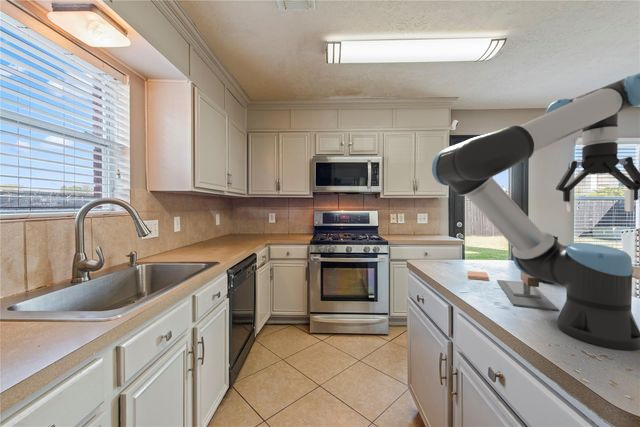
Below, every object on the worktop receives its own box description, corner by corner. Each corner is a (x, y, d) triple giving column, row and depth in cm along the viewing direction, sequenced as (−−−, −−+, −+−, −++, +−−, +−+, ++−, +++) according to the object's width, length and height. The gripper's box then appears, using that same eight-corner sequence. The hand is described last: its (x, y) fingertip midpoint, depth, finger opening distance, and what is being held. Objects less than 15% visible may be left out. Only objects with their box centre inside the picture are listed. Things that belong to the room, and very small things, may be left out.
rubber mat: (558, 311, 83) (558, 309, 83) (513, 305, 88) (513, 303, 88) (530, 284, 110) (530, 282, 110) (496, 281, 115) (496, 279, 115)
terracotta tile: (488, 277, 116) (486, 272, 124) (468, 275, 120) (467, 270, 128) (488, 281, 116) (486, 276, 124) (468, 279, 120) (467, 274, 128)
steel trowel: (548, 305, 86) (548, 279, 85) (518, 302, 89) (518, 276, 89) (528, 285, 106) (528, 263, 106) (504, 283, 110) (504, 262, 110)
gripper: (648, 141, 79) (647, 210, 79) (544, 150, 90) (544, 211, 90) (667, 135, 72) (666, 211, 73) (552, 146, 83) (552, 212, 84)
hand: (598, 211), depth 82 cm, fingers open, 13 cm apart
